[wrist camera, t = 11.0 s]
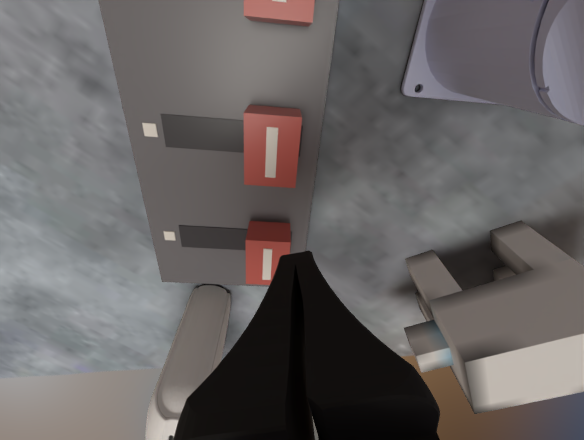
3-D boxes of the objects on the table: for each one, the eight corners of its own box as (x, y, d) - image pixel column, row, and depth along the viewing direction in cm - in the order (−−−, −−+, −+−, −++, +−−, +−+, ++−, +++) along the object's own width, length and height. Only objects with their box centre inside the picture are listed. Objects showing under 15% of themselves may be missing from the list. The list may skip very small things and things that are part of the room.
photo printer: (223, 348, 32) (193, 492, 22) (185, 343, 32) (136, 489, 21) (236, 286, 27) (205, 437, 17) (192, 279, 26) (130, 430, 16)
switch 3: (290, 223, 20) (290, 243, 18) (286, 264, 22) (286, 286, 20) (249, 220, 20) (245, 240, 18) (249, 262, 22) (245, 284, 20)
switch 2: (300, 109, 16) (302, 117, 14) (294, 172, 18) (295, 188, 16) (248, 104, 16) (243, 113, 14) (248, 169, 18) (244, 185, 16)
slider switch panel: (353, -153, 13) (364, -187, 11) (299, 272, 26) (300, 288, 24) (80, -192, 12) (44, -235, 10) (170, 266, 25) (161, 282, 24)
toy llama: (379, 267, 26) (553, 672, 9) (586, 198, 23) (1492, 648, 6) (396, 315, 30) (544, 667, 13) (577, 262, 26) (1110, 650, 9)
